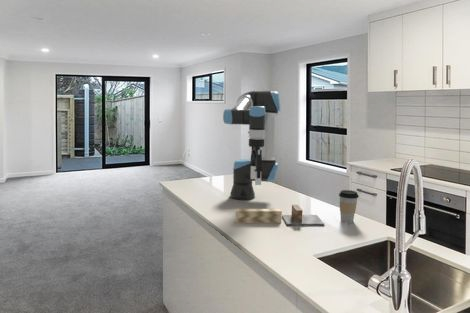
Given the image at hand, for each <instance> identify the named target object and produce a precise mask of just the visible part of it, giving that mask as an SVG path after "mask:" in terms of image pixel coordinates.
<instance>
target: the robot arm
mask: <svg viewBox="0 0 470 313" xmlns="http://www.w3.org/2000/svg"><path fill="white" fill-rule="evenodd" d="M280 100H281V98H280V94H279V92H278V91H272V90H251V91H248V92H245V93H243V94H241V95H240V96H239V97H238V98H237V100H236V103H235V104H234V106H233V107H232V108H227V109H224V111H223V116H222V117H223V118H222V119H223V123H224V124H226V125H245V126H249V127H248V130H249V131H248V132H247V133H248V138H249V139H248V147H250V148H251V150H250V151H251V154H250V158H243V159H242V158H241V159H238V160H235V161H234V162H233V168H232V169H233V172H232V173H233V175H232V176H233V178H232V179H233V182H232V186H231V187H232V188H231V190H230V192H229V193H230V194H229V195H230V196H229V197H230V198H231V199H233V200H240V201H247V200H248V201H249V200H253V199H255V197H256V196H255V195H256V194H255V190H254V187H253V182H254V186H261V185H262V182H266V183H269V182H271V183H272V182H275V180H276V178H277V174H278V166H279V163H278V162H276V158H275V157H274V152H275V151H274V148H275V147H274V146H275V128H276V127H275V126H276V124H275V123H276V121H275V120H276V116H277V115H278V114H279V112H280V111H281V103H280V102H281V101H280Z"/></svg>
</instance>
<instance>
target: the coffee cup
mask: <svg viewBox="0 0 470 313" xmlns="http://www.w3.org/2000/svg"><path fill="white" fill-rule="evenodd" d="M338 196H339V211H340V213H339V214H340V221H341V222H342V223H345V224H352V223H354V218H355V213H356V209H357V204H358V199H359V196H360V195H359V194H358V192H357V191H356V190H349V189H343V190H340V192H339V193H338Z"/></svg>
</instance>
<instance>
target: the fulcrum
mask: <svg viewBox="0 0 470 313" xmlns="http://www.w3.org/2000/svg"><path fill="white" fill-rule="evenodd" d="M281 219H283V221H284V223H285V224H286V226H287V227H299V226H301V227H302V226H303V227H309V226H311V227H313V226H314V227H315V226H316V225H321V226H322V225H323V227H324V226H325V223H324V221H323V220H321V218H320V217H319V216H318V215H317V214H303V209H302V208H301V207H300V205H299V204H292V205H291V214H282V215H281ZM321 226H320V227H321ZM316 227H317V226H316Z"/></svg>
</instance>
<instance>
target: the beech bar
mask: <svg viewBox="0 0 470 313" xmlns="http://www.w3.org/2000/svg"><path fill="white" fill-rule="evenodd" d="M282 215H283V214H282V210H281V208H235V221H236V222H235V223H238V224H239V223H241V224H243V223H245V224H247V223H250V224H251V223H252V224H253V223H254V224H255V223H257V224H258V223H260V224H261V223H263V224H265V223H270V224H274V223H279V224H281V223H282Z"/></svg>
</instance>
